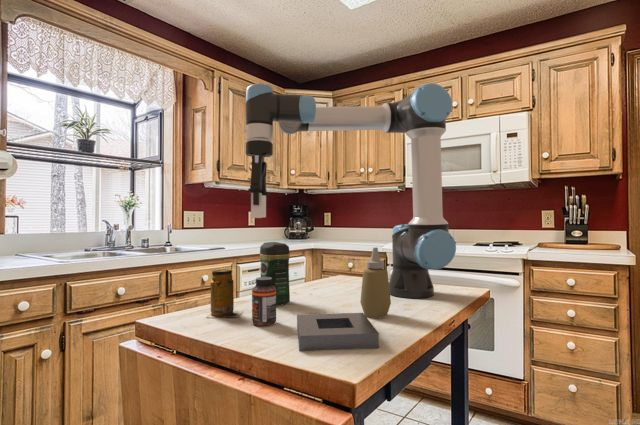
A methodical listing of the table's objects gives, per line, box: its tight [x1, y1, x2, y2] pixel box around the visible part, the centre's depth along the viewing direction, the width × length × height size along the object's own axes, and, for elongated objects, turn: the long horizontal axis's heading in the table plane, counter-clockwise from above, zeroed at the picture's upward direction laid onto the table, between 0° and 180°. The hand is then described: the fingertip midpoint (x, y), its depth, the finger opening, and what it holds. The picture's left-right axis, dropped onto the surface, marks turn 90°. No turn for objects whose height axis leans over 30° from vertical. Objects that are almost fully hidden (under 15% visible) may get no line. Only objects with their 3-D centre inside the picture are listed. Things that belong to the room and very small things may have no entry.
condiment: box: [206, 268, 244, 319], centre depth 104 cm, size 7×8×12 cm
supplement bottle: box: [251, 276, 277, 327], centre depth 95 cm, size 6×6×11 cm
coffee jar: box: [259, 241, 291, 307], centre depth 117 cm, size 10×8×19 cm
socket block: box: [296, 312, 380, 352], centre depth 85 cm, size 16×16×3 cm
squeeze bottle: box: [359, 247, 392, 319], centre depth 102 cm, size 8×8×18 cm
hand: (258, 217), depth 107 cm, fingers open, 13 cm apart
